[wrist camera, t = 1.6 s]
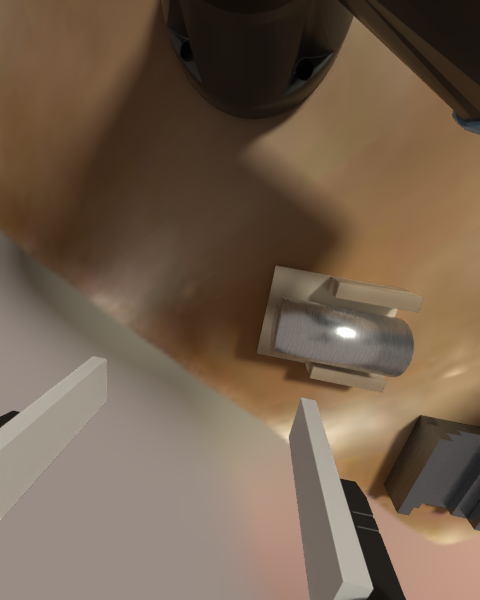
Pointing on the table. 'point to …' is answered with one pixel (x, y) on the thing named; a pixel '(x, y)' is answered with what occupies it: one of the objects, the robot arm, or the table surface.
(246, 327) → the table surface
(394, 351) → the grey metal cylinder
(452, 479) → the v block
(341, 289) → the bracket
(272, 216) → the table surface
